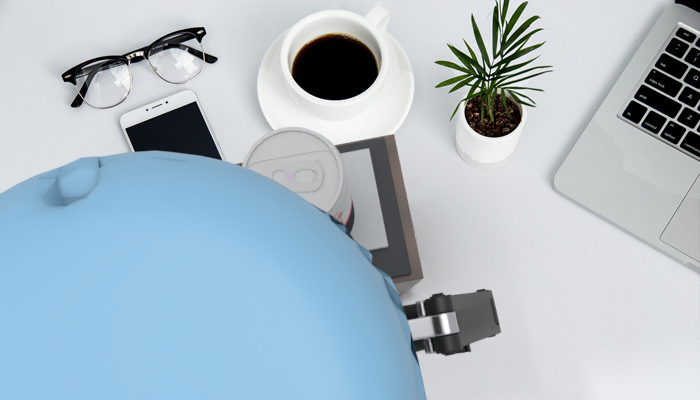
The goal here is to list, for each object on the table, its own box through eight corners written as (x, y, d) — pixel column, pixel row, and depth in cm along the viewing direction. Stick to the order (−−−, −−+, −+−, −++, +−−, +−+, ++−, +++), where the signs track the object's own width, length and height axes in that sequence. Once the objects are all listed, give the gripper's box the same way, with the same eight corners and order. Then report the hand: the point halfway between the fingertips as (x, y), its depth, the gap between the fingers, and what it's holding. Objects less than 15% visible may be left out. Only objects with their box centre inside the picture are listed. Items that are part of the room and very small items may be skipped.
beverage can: (355, 254, 51) (346, 229, 36) (276, 256, 51) (236, 231, 36) (354, 177, 52) (345, 122, 37) (277, 179, 52) (238, 125, 37)
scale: (411, 274, 52) (412, 272, 50) (249, 304, 52) (244, 304, 50) (384, 141, 55) (384, 134, 53) (229, 170, 55) (224, 164, 53)
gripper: (605, 190, 23) (495, 254, 43) (-59, 316, 23) (149, 319, 43) (663, 401, 21) (521, 362, 42) (-49, 533, 21) (162, 429, 42)
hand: (331, 340), depth 43 cm, fingers open, 13 cm apart
